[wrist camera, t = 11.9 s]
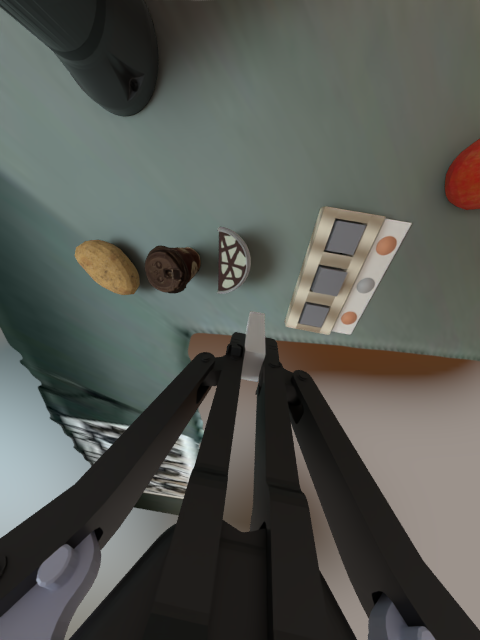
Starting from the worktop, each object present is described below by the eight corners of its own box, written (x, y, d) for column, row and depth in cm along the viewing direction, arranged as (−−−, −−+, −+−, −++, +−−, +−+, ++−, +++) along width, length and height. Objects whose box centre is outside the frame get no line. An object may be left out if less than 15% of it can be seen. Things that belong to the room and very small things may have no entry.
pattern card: (383, 218, 34) (386, 218, 34) (409, 223, 34) (412, 223, 33) (330, 329, 47) (331, 331, 46) (349, 333, 47) (350, 335, 46)
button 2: (332, 221, 35) (338, 220, 32) (357, 225, 35) (366, 225, 32) (322, 248, 38) (327, 250, 35) (346, 253, 37) (353, 255, 35)
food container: (250, 284, 44) (247, 299, 35) (225, 282, 44) (216, 295, 35) (255, 229, 38) (253, 229, 29) (227, 226, 38) (217, 226, 29)
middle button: (317, 265, 38) (322, 268, 36) (341, 269, 38) (347, 272, 35) (309, 287, 41) (313, 292, 38) (331, 291, 41) (337, 296, 38)
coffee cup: (213, 261, 42) (195, 274, 30) (193, 285, 45) (170, 305, 34) (184, 234, 40) (152, 236, 28) (165, 261, 43) (130, 273, 32)
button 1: (304, 299, 43) (307, 304, 40) (325, 303, 43) (329, 308, 40) (297, 317, 46) (300, 323, 43) (317, 321, 46) (321, 327, 43)
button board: (320, 207, 35) (325, 206, 32) (376, 217, 34) (385, 216, 32) (284, 321, 47) (285, 326, 44) (325, 328, 47) (329, 334, 44)
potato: (137, 297, 49) (116, 308, 42) (91, 256, 45) (60, 262, 38) (157, 274, 45) (137, 283, 38) (109, 228, 41) (78, 228, 34)
